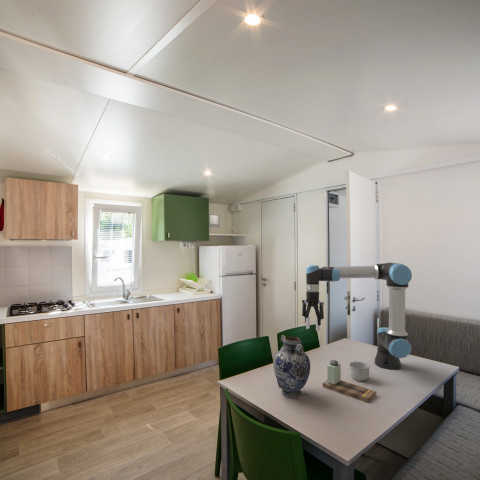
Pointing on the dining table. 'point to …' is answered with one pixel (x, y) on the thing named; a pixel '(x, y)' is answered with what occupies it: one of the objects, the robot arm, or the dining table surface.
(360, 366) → the teacup
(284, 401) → the dining table surface
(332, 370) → the fader tab
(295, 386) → the decorative vase
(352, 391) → the fader track
